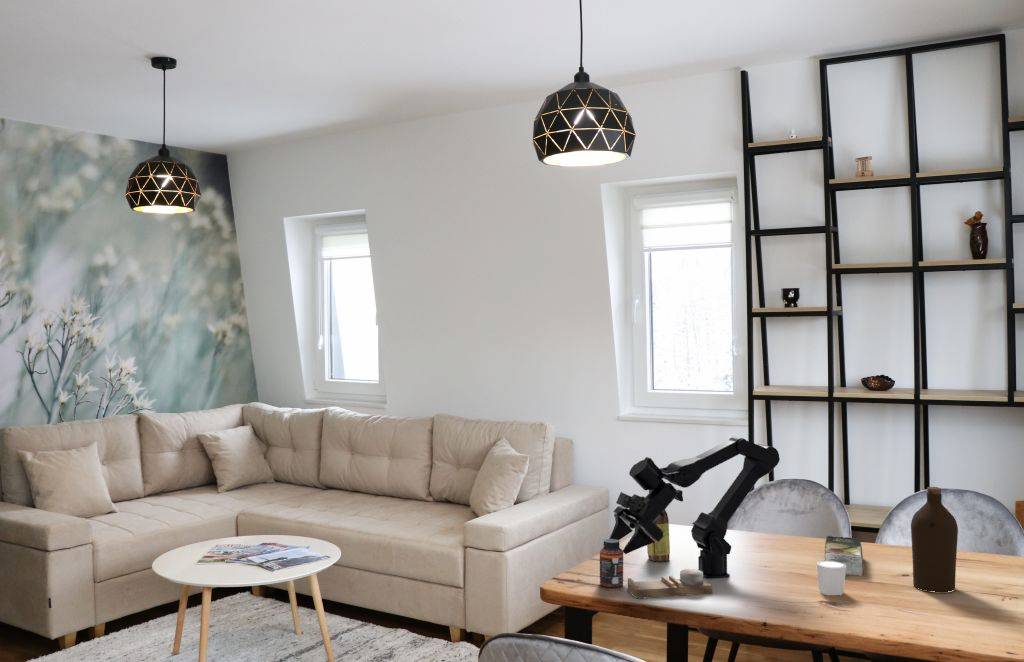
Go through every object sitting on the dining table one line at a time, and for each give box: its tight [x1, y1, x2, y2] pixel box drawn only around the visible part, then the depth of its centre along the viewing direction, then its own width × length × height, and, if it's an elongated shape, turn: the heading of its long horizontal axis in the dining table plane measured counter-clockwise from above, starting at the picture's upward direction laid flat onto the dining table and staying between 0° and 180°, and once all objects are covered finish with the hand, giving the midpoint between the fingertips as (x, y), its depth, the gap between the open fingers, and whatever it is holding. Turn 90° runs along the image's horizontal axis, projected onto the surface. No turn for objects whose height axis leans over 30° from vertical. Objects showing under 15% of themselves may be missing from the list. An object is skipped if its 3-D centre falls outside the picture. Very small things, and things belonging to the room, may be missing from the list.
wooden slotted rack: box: [627, 568, 713, 599], centre depth 217 cm, size 20×6×4 cm, turn 101°
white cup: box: [816, 560, 846, 596], centre depth 216 cm, size 7×7×7 cm
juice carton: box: [824, 535, 864, 577], centre depth 240 cm, size 20×10×6 cm, turn 160°
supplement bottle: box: [599, 538, 624, 588], centre depth 223 cm, size 6×6×11 cm
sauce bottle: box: [646, 490, 671, 562], centre depth 246 cm, size 6×6×20 cm
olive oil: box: [910, 486, 959, 592], centre depth 219 cm, size 11×11×25 cm
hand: (616, 548), depth 223 cm, fingers open, 9 cm apart
